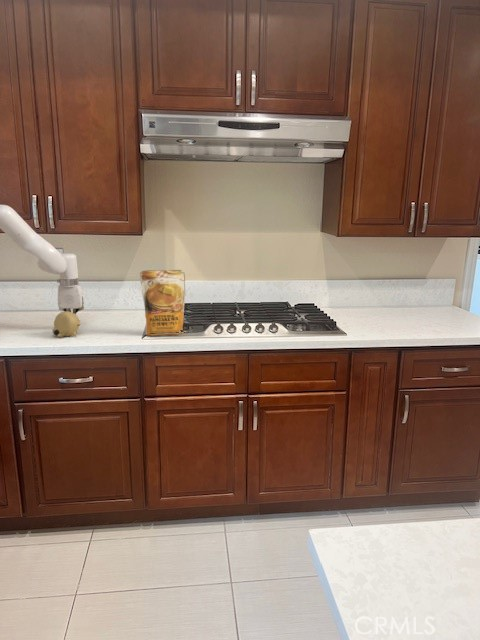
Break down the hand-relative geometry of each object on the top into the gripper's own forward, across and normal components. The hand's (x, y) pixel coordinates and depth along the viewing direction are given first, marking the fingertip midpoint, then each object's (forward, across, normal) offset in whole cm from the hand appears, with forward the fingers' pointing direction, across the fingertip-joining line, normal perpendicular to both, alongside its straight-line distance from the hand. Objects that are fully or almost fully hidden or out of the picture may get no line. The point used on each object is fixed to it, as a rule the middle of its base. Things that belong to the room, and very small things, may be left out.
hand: (72, 322), depth 207 cm
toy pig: (+3, 0, -10) cm, 10 cm away
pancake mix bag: (+3, +41, -8) cm, 42 cm away
